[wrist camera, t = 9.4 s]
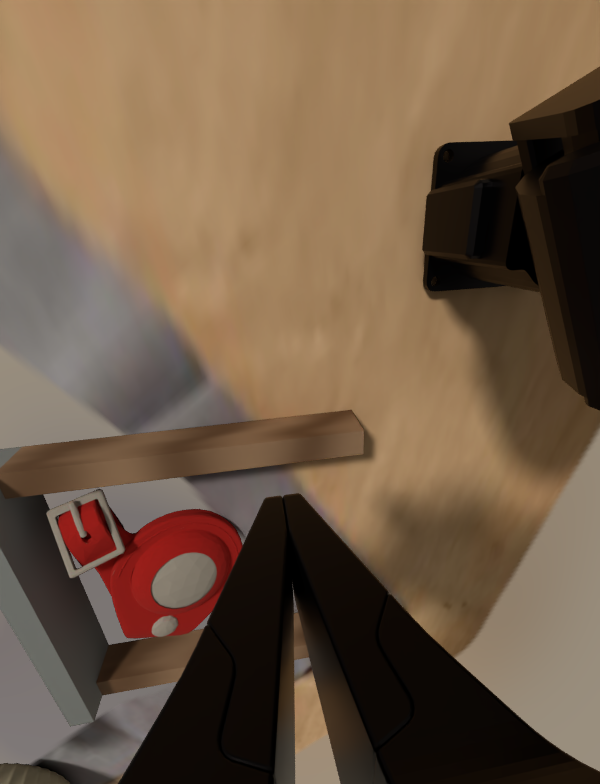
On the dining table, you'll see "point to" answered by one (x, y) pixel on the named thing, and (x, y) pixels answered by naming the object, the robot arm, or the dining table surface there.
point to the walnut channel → (171, 460)
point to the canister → (28, 775)
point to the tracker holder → (149, 562)
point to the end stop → (49, 607)
